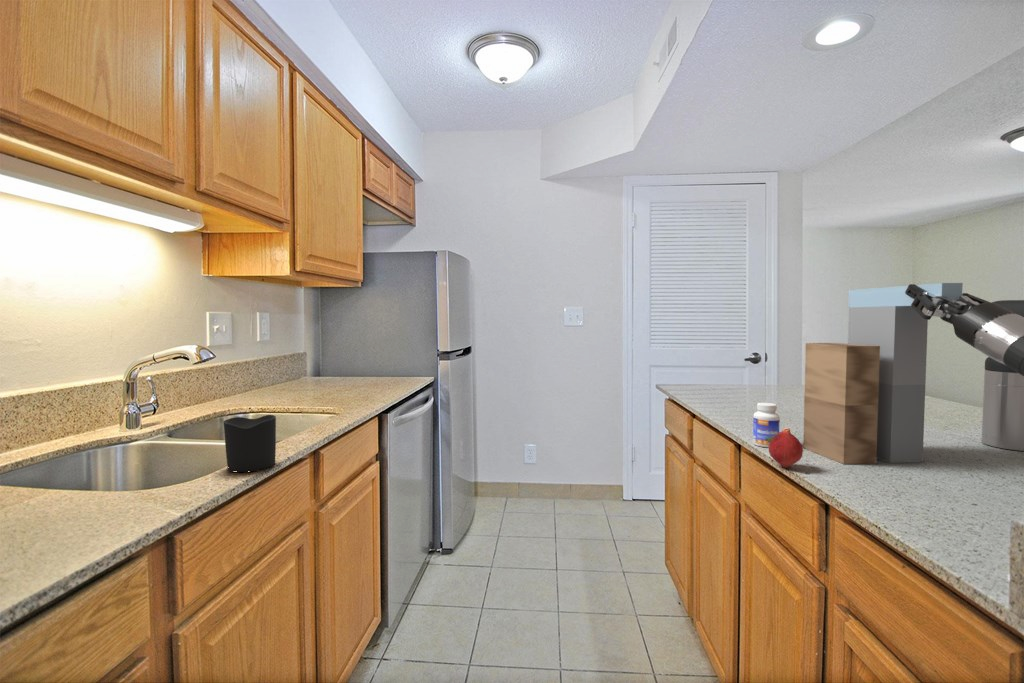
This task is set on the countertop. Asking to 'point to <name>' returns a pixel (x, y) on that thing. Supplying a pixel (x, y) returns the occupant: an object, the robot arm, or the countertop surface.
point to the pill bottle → (765, 424)
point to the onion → (785, 448)
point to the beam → (900, 295)
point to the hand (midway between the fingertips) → (919, 288)
